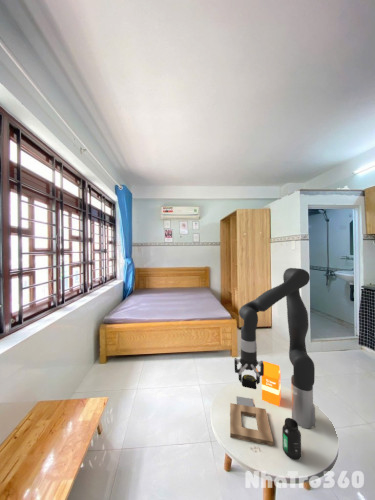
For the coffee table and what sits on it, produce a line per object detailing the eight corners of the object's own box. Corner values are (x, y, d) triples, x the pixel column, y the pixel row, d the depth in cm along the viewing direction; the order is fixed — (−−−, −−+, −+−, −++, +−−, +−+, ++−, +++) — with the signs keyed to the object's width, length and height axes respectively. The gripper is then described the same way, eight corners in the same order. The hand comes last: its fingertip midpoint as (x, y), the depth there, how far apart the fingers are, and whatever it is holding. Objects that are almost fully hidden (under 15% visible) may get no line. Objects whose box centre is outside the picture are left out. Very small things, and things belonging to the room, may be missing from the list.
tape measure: (241, 388, 92) (241, 380, 92) (242, 380, 98) (242, 372, 98) (256, 392, 89) (256, 384, 89) (256, 383, 96) (256, 375, 96)
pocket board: (265, 412, 99) (265, 409, 99) (273, 446, 81) (273, 441, 82) (230, 406, 103) (230, 403, 103) (230, 437, 85) (230, 433, 85)
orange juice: (278, 406, 103) (278, 369, 104) (261, 399, 108) (261, 363, 109) (281, 397, 109) (280, 362, 110) (264, 391, 114) (264, 357, 115)
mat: (252, 399, 108) (252, 398, 108) (254, 410, 100) (254, 409, 100) (236, 396, 110) (236, 396, 110) (236, 407, 102) (236, 406, 102)
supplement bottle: (285, 458, 76) (284, 427, 77) (280, 442, 83) (280, 414, 83) (304, 462, 75) (303, 431, 75) (298, 446, 81) (297, 417, 82)
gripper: (262, 345, 96) (263, 379, 95) (233, 343, 99) (233, 375, 98) (265, 353, 88) (266, 389, 88) (233, 350, 91) (234, 385, 91)
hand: (249, 382), depth 93 cm, fingers closed on tape measure, 7 cm apart
